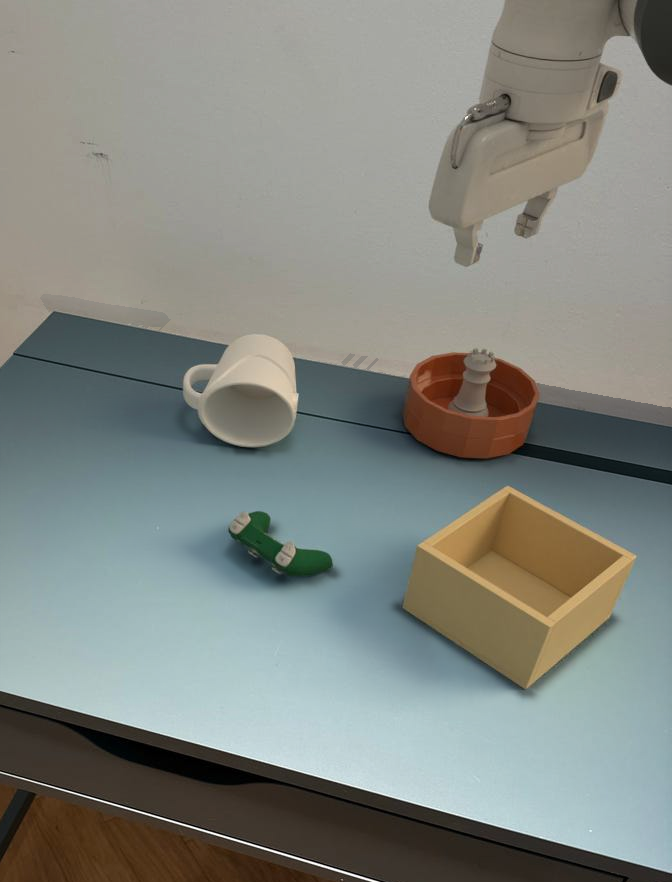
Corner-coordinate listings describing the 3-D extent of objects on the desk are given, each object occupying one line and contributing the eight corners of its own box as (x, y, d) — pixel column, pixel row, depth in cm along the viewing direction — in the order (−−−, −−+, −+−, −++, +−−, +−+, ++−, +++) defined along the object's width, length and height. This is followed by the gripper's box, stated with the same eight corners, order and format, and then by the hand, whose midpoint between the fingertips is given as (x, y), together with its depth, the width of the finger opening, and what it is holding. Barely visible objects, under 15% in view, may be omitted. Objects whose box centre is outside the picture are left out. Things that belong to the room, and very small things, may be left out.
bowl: (451, 380, 112) (461, 340, 109) (550, 430, 106) (563, 388, 102) (377, 422, 106) (385, 380, 103) (477, 477, 100) (489, 434, 96)
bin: (488, 546, 92) (507, 484, 87) (609, 618, 85) (637, 555, 80) (402, 608, 86) (417, 545, 81) (525, 689, 79) (550, 627, 74)
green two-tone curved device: (243, 546, 94) (212, 530, 89) (265, 512, 93) (235, 494, 88) (315, 596, 89) (287, 582, 84) (339, 560, 88) (312, 544, 83)
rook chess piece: (476, 409, 108) (494, 342, 102) (492, 432, 104) (511, 364, 99) (437, 412, 107) (453, 344, 101) (452, 436, 104) (469, 367, 98)
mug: (298, 405, 108) (306, 338, 102) (290, 454, 101) (298, 385, 96) (189, 393, 109) (191, 326, 104) (175, 441, 103) (176, 372, 97)
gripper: (495, 121, 76) (456, 293, 86) (633, 71, 86) (584, 230, 96) (429, 99, 79) (398, 268, 89) (570, 54, 89) (529, 210, 99)
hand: (496, 248), depth 92 cm, fingers open, 8 cm apart
